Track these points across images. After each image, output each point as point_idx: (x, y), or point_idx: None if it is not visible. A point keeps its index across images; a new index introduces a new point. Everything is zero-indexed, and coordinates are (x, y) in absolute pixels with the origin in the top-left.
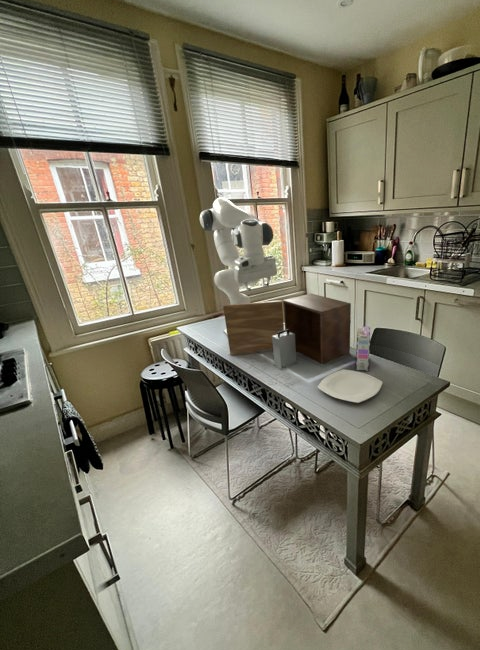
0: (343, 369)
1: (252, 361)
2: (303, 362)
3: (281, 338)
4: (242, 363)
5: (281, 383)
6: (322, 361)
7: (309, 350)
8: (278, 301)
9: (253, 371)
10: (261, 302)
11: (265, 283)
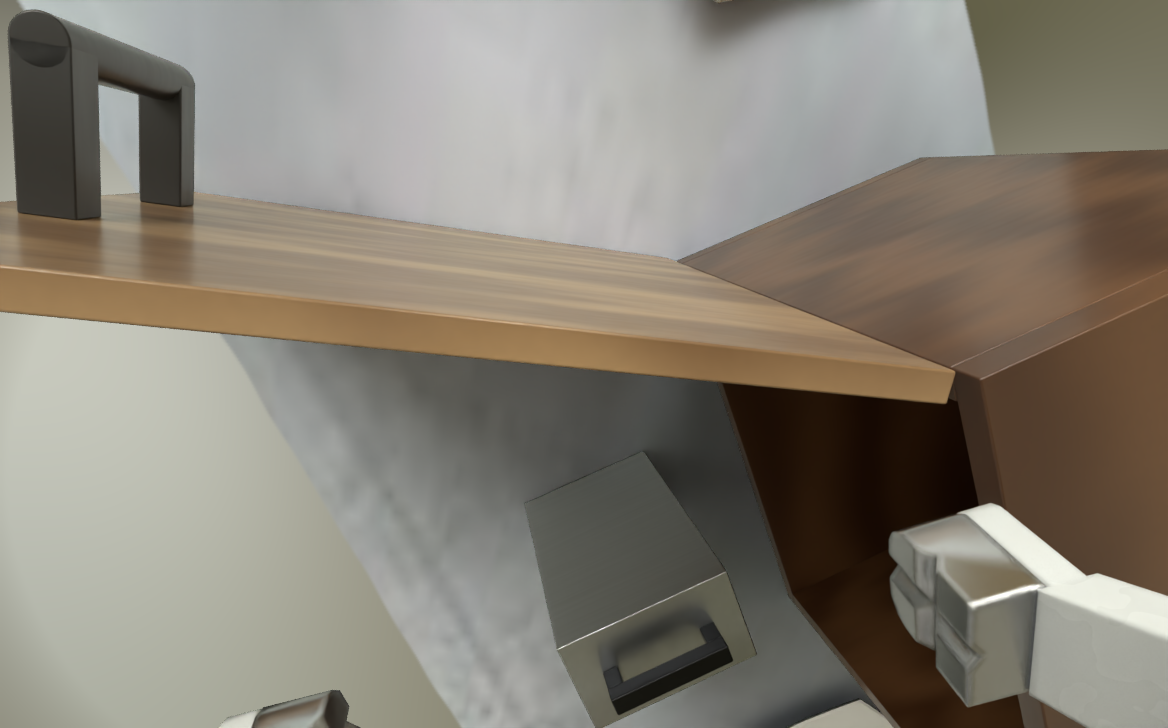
0: (859, 704)
1: (376, 394)
2: (711, 514)
3: (621, 717)
4: (293, 404)
5: (514, 717)
6: (805, 616)
7: (811, 391)
8: (891, 398)
9: (369, 548)
10: (604, 357)
11: (958, 629)
